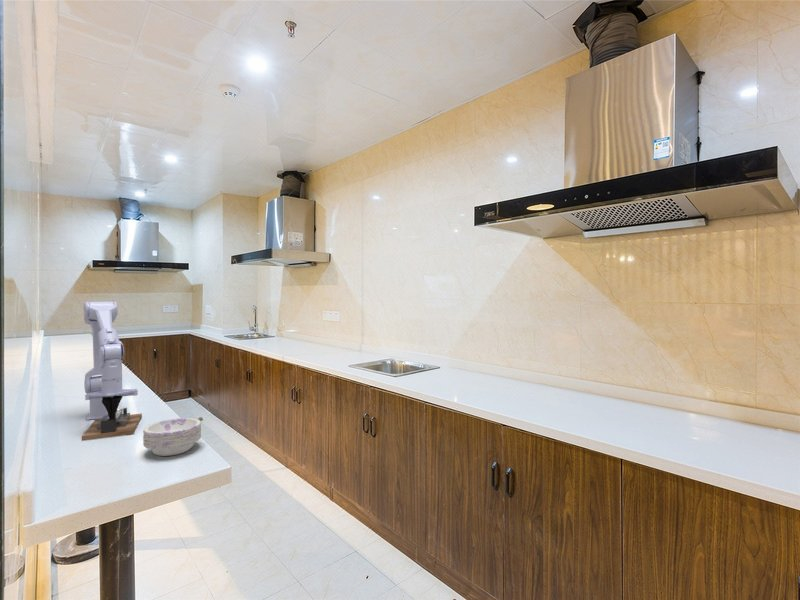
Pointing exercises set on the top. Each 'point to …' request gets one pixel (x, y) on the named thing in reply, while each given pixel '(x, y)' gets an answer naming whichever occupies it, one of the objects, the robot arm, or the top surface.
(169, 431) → the paper bowls
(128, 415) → the clamp block
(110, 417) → the robot arm
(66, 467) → the top surface
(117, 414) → the grey flat bar
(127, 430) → the board
